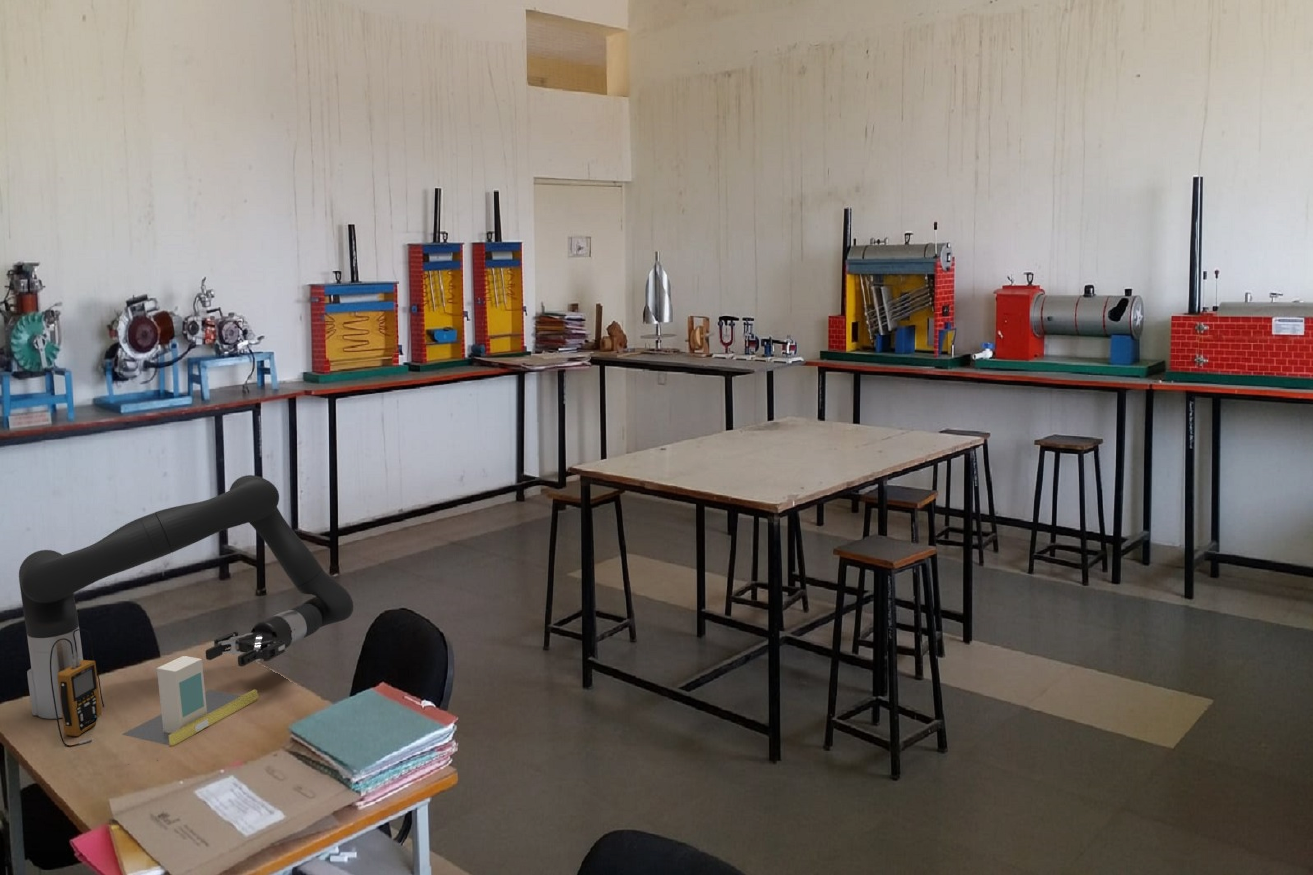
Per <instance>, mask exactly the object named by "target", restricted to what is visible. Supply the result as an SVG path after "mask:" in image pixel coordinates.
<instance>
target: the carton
mask: <svg viewBox="0 0 1313 875" xmlns="http://www.w3.org/2000/svg"><path fill="white" fill-rule="evenodd" d="M156 674H157V684H158V692H159V702H160V712H161V714H162V722H163V732H167V733H174V732H176V731H177V730H179V729H181V728H183V727H185V726H187V725H189V724H190V723H192V722H194V721H196V720H198V719H200V718H202V717H203V716H205V715H207V707H206V697H205V692H206V689H205V688H206V687H205V679H204V669H203V659H202V658H198V657H192V656H186V655H182V656H180V657H178V658H176V659H174V660H171V661H169V662H168V663H165V664H162V665H160V666H159V667H156Z"/></svg>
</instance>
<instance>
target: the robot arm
mask: <svg viewBox="0 0 1313 875" xmlns="http://www.w3.org/2000/svg"><path fill="white" fill-rule="evenodd" d="M279 501H280V494H279V491H278V489H277V487H276V486H275V484H273V483H272V481H269V480H267V479H265V478H264V477H262V476H258V475H254V474H249V475H247V474H246V475H243V476H240V477H238V478H236V480H235V481H234V482H233V483H232V484H231V486H230V488H229V490H228V491H226V492H223V493H221V494H218V495H217V496H214V497H212V498H209V499H206V500H203V501H198V502H197V501H196V502H193V503H187V504H182V505H178V506H177V505H176V506H173V507H168V508H164V509H160V510H158V511H154V512H152V513H149V514H147V515H144V516H142V517H139V518H136V519H133V520H132V521H129V522H127V523H125V524H124V525H122V526H120V527H118V528H117V529H115V530H114V531H113V532H111V533H110V534H107V535H106V536H105V537H103V538H102V539H100V540H98V541H96V542H95V543H92V544H91V545H88V546H86V547H83V548H80V549H77V550H74V551H72V552H68V553H65V554H62V553H60V552H59V551H56V550H52V549H41V550H38V551H34V552H33V553H31V554H29V555H28V556H27V557H26V558H24V560H23V561H22V562H21V564H20V567H19V571H18V581H19V589H20V594H21V597H20V598H21V604H22V612H23V618H24V624H25V630H26V631H25V632H26V636H27V637H26V638H27V644H28V652H29V659H30V667H31V668H30V669H28V670H27V671H26V672H27V674H26V675H27V684H28V691H29V698H30V704H31V705H30V707H31V713H32V716H37V717H39V718H41V719H45V720H46V719H48V720H49V719H51V720H52V719H53V720H54V719H57V717H56V712H55V706H54V700H53V693H52V686H51V677H50V654H51V649H52V647H53V644H54V643H55V642H56V641H57V640H59V639H63V638H65V639H68V640H69V641H70V642H71V643H72V647H73V653H74V660H75V663H76V649H75V642H74V638H73V632H74V631H75V630H77V629H80V626H79V617H78V616H79V615H78V610H77V604H76V599H75V593H76V592H79V591H80V590H82V589H84V588H86V587H88V586H90V585H93V584H94V583H95V582H98V581H100V580H103V579H105V578H107V577H110V576H113V575H115V574H119V573H122V572H124V571H127V570H130V569H132V568H133V569H134V568H135V567H139V566H141V565H144V564H146V563H149V562H152V561H155V560H157V559H160V558H163V557H166V556H167V555H169V554H170V555H171V554H173V553H174V552H177V551H180V550H182V549H185V548H186V547H189V546H191V545H193V544H195V543H197V542H200V541H202V540H205V539H206V538H208V537H211V536H213V535H215V534H217V533H219V532H222V531H225V530H228V529H231V528H234V527H237V526H241V525H245V524H248V523H249V524H250V526H252V528H253V529H254V530H255V531H256V533H258V535H259V536H260V537H261V539H262V540H263V541H264V542H265V544H266V545H267V546H268V548H269V550H270V552H272V554H273V555H274V557H275V559H276V560H277V562H278V563H279V565H280V566H281V567H282V569H283V571H284V572H285V574H286V575H287V577H288V578H289V579H290V581H291V582H292V584H293V585H294V586H295V588H296V589H297V590H298V592H299V593H300V594H303V595H313V596H314V597H312V598H310V599H308V600H306V601H304V603H302V604H299V605H297V606H295V607H293V608H290V609H288V610H285V611H281V612H279V613H277V614H275V615H272V616H270V617H268V618H265V619H264V620H261V621H259V622H257V623H255V625H254V626H253V627H252V629H251V631H250V632H247V633H245V634H242V635H239V631H232V632H230V633H228V634H225V635H223V636H220V637H217V638H216V639H214V640H213V644H214V646H211V647H209V648H206V650H205V659H206V660H207V661H212V660H214V659H216V658H218V657H221V656H222V655H226V654H232V655H238V656H237V665H238V666H239V667H245V666H246V665H249V664H251V663H253V662H260V661H261V660H263V662H269V661H271V660H273V659H274V658H277V657H278V656H280V655H282V654H284V653H285V652H286V649H287V648H289V647H291V646H293V645H295V644H297V643H298V642H299V641H301V640H303V639H305V638H307V637H309V636H312V635H313V634H315V633H316V632H317V631H318V630H319V629H320V628H322V627H325V626H328V625H332V624H335V623H338V622H339V623H340V622H342V621H345V620H347V619H349V618H350V617H351V615H352V614H353V612H354V601H353V598H352V596H351V595H350V593H349V592H348V591H347V590H346V589H345V587H344V586H342V585H341V584H340V583H339V582H338V581H336V580H335V579H334V578H333V577H332V576H330V575H329V574H328V573H327V572H325V570H324V568H323V567H322V565H321V564H320V563H319V562H318V560H317V558H316V557H315V555H314V554H313V553H312V552H311V550H310V548H309V547H308V546H307V545H306V544H305V543H304V542H303V540H302V539H301V538H300V537H299V535H297V534H296V532H295V531H294V530H293V528H291V527H290V525H289V524H288V522H287V521H286V520H285V518H284V517H283V515H282V513H281V512H280V510H279V508H278V504H279ZM80 632H81V630H78V631H76V632H75V640H76V645H77V651H78V658H79V661H81V660H84V656H83V650H82V649H83V648H82V640H81V634H80ZM236 646H238V648H237V649H236ZM239 654H240V655H239ZM71 666H72V650H71V644H70V643H69V642H68V641H67V640H60V641H58V642H57V643H56V644H55V646H54V648H53V652H52V660H51V669H52V682H53V689H54V696H55V702H56V708H57V714H58V719H60V718H61V719H63V716H62V709H61V701H60V693H59V685H58V677H57V675H58V673H59V672H61V671H63V670H65V669H67V668H69V667H71Z"/></svg>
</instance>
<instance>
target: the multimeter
mask: <svg viewBox="0 0 1313 875" xmlns="http://www.w3.org/2000/svg"><path fill="white" fill-rule="evenodd" d="M78 630H79V631H83V632H85V633H86V634H87V635H88V637H89V641H90V651H91V658H92V660H89V659H87V660H86V659H83V660H81V661H79V658H78V651H77V645H76V640H75V632H76V631H78ZM73 638H74V642H75V649H76V663H75V660H74V653H73V647H72V643H71V642H70V641H69V640H68V639H65V638H63V639H59V640H57V641H56V642H55V643H54V644H53V647H52V649H51V654H50V677H51V686H52V693H53V700H54V706H55V712H56V717H57V718H56V721H57V728H58V731H59V736H60V740H61V743H62V744H63V745H64V746H65V747H69V748H70V747H76V746H78V745H83V744H87V743H90V742H92V741H93V738H89V739H86V740H82V741H80V742H78V743H75V744H70V745H69V744H67V743H66V742H65V740H64V739H63V738H64V737H63V734H62V730H61V727H60V721H59V718H58V714H57V708H56V702H55V696H54V689H53V682H52V669H51V660H52V652H53V648H54V646H55V644H56V643H57V642H58V641H60V640H67V641H68V642H69V643H70V644H71V650H72V666H71V667H69V668H67V669H65V670H63V671H61V672H59V673H58V675H57V677H58V685H59V693H60V701H61V709H62V716H63V717H62V721H63V722H62V723H63V728H64V735H66V736H73V737H80V736H81V735H82V734H83V733H85V732H86V731H88V730H89V729H91V728H92V727H94V726H96V725H97V721H98V718H99V717H100V716H102V709H101V708H102V707H104V708H105V704H104V701H103V695H102V688H101V687H102V686H101V682H100V676H99V675H100V674H99V672H98V670H97V666H96V665H97V664H96V661H95V656H94V650H93V642H92V637H91V634H90V633H89V631H87V629H83V628H79V629H77V630H75V631H74V632H73ZM100 699H101V700H100ZM101 705H102V707H101Z"/></svg>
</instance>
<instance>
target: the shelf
mask: <svg viewBox="0 0 1313 875" xmlns="http://www.w3.org/2000/svg"><path fill="white" fill-rule="evenodd" d="M258 696H259V695H258V689H252V690H251V691H248V692H246V693H245V694H243V695H239V694H235V693H229V692H225V691H224V692H223V691H221V690H213V689H208V690H205V697H206V707H207V715H205V716H203V717H202V718H200V719H198V720H196V721H194V722H192V723H190V724H189V725H187V726H185V727H183V728H181V729H179V730H177V731H176V732H174V733H167V732H163V722H162V713H161V714H159V715H157V716H155V717H152V718H151V719H150V720H147V721H145V722H144V723H141V724H140V725H137V726H136V727H133V728H131V729H130V730H128V731H126V732H124V733H122V736H127V737H131V738H135V739H140V740H145V741H148V742H153V743H158V744H162V745H165V746H166V745H167V746H171V747H175V746H176V745H178V744H179V743H182V742H183V741H185V740H187V739H188V738H191V737H192V736H194V735H196V734H197V733H199V732H202V731H203V730H205V729H206V728H208V727H210V726H212V725H215V724H216V723H218V722H219V721H222V720H223V719H226V717H227V718H228V716H230V715H232V714H234V713H235V712H238V711H239V710H241V709H243V708H245V707H246V706H248V705H250V704H253V702H256V701H257V700H259V697H258Z"/></svg>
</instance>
